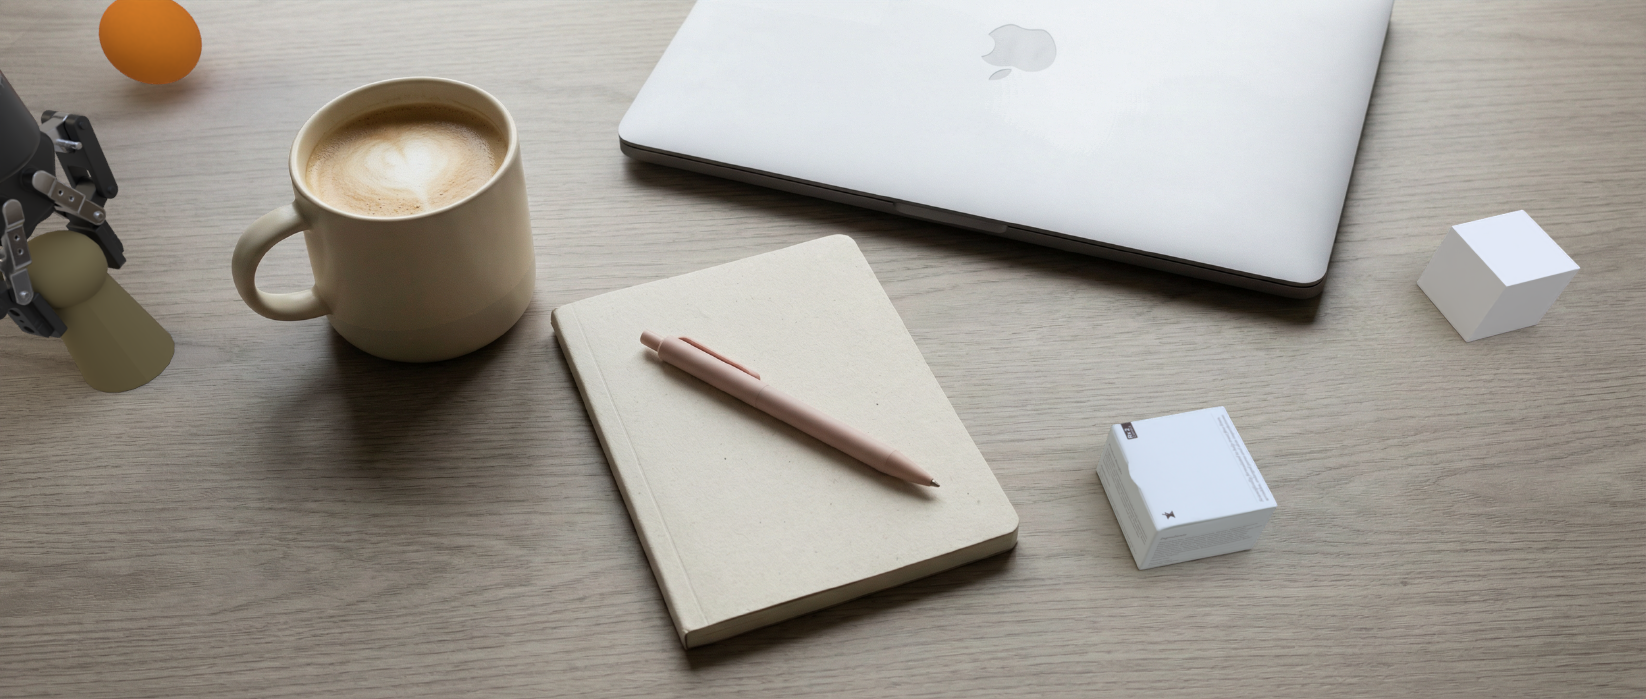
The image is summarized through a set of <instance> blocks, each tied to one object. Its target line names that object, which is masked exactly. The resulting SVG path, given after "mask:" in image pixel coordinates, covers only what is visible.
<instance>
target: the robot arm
mask: <svg viewBox="0 0 1646 699" xmlns="http://www.w3.org/2000/svg"><path fill="white" fill-rule="evenodd" d="M40 123H41V124H38V121H37V120H36V118H35V117H34V116H33V114H32V113H31V111H30V110H29V109H28V107H27V106H26V104H25V103H24V102H23V100H22V98H21V97H20V96H19V94H18V92H17V91H16V90H15V88H14V87H13V85H12V84H11V82H10V81H9V80H8V78H7V77H6V75H5V74H4V72H3V71H2V70H1V69H0V247H2V248H0V321H1V320H3V319H5V318H6V316H7V315H8V317H10V319H11V320H12V321H13V322H14V323H15V325H16V326H17V327H18V328H19V329H20V330H21V331H22V332H23V333H25V334H28V335H31V336H37V337H42V338H47V339H49V338H50V337H51V338H56V339H62V338H61V336H62V335H63V334H64V333H65V332H66V331H67V329H68V328H67V326H66V325H65V324H64V322H63V321H62V320H61V319H60V318H59V316H58V315H57V314H56V313H55V311H54V310H53V309H52V308H51V307H50V305H49V304H48V303H47V302H46V300H45V299H44V298H43V297H42V296H41V294H40V293H37V292H33V288H32V284H31V280H30V276H29V273H28V266H29V265H31V264H32V258H31V254H30V251H29V247H28V243H27V242H28V239H29V238H30V237H32V235H33V233H34V231H35V229H37V226H38V225H39V224H40V223H42V222H44V221H45V220H47V219H48V218H50V217H51V216H52V215H53V214H54V215H56V216H58V217H60V218H62V219H63V220H68V221H69V222H68V223H66V225H65V227H66V230H70V231H74V232H78V233H81V234H84V235H86V236H87V237H89V238H90V239H91V240H93V241H94V242H95V243H96V244H98V245H99V247H100V248H101V250H102V251H103V253H104V256H105V258H106V261H107V264H108V269H113V270H121V268H122V267H123V266H124V265H125V264H126V262H127V258H126V257H125V255H124V252H125V249H124V244H123V242H122V241H121V240H120V238H119V237H118V235H117V234H116V233H115V230H113V228H112V226H111V225H110V223H109V222H108V221H107V219H106V218H107V211H106V210H105V205H106V203H107V201H108V200H113V199H115V198H116V197H117V195H118V194H119V186H118V183H117V181H116V179H115V176H114V174H113V172H112V169H111V167H110V164H109V162H108V160H107V158H106V155H105V153H104V151H103V148H102V146H101V144H100V142H99V139H98V137H97V135H96V132H95V130H94V128H93V126H92V124H91V121H90V118H88V117H87V116H86V115H81V114H75V113H70V112H65V111H64V112H63V111H59V110H53V109H46V110H44V111H43V112H42V114H41V116H40ZM56 157H57V159H58V162H59V164H60V166H61V168H62V170H63V172H64V175H65V177H66V178H67V181H68V183H69V185H70V186H69V185H68V184H66V183H64V182H63V181H61V180H59V179H57V170H56V168H57V167H56Z"/></svg>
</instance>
